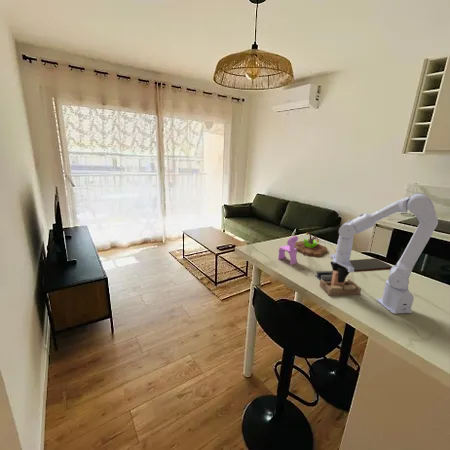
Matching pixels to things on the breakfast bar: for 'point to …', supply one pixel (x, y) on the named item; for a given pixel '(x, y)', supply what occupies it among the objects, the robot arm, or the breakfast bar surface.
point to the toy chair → (289, 250)
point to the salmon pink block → (336, 279)
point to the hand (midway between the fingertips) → (338, 279)
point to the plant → (310, 247)
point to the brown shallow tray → (340, 292)
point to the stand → (324, 275)
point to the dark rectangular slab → (369, 265)
